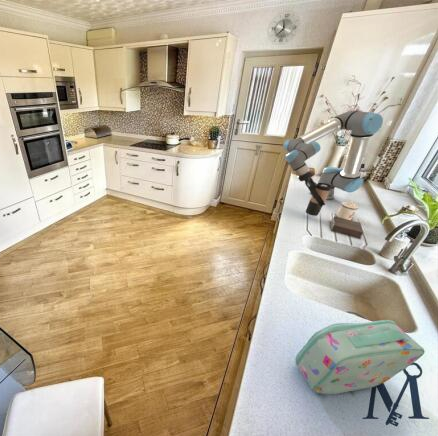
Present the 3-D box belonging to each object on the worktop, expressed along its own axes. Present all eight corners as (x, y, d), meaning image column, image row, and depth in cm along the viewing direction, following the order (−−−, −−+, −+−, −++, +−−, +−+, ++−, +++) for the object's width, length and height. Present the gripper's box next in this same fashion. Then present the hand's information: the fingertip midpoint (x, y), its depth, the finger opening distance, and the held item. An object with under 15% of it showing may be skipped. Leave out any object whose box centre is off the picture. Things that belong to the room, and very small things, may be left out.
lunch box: (359, 351, 76) (397, 308, 65) (392, 386, 68) (442, 343, 57) (286, 362, 72) (314, 318, 61) (311, 401, 63) (348, 357, 53)
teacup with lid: (350, 222, 152) (359, 206, 146) (334, 216, 157) (342, 201, 152) (353, 216, 160) (361, 200, 154) (337, 211, 165) (345, 196, 159)
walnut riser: (330, 221, 152) (333, 215, 150) (357, 228, 146) (360, 222, 144) (331, 230, 142) (334, 225, 140) (359, 238, 135) (363, 232, 133)
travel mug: (317, 212, 155) (330, 184, 145) (319, 217, 149) (333, 188, 139) (304, 209, 158) (316, 181, 148) (305, 214, 152) (318, 185, 142)
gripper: (298, 172, 157) (316, 199, 158) (295, 180, 142) (316, 211, 143) (310, 165, 152) (329, 194, 153) (309, 174, 137) (330, 206, 138)
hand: (322, 202), depth 148 cm, fingers closed on travel mug, 8 cm apart
